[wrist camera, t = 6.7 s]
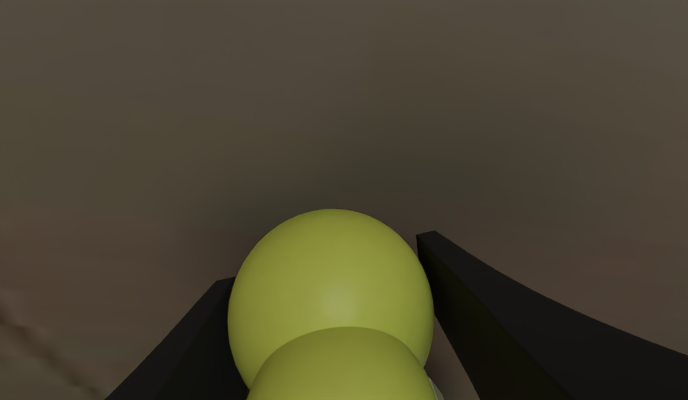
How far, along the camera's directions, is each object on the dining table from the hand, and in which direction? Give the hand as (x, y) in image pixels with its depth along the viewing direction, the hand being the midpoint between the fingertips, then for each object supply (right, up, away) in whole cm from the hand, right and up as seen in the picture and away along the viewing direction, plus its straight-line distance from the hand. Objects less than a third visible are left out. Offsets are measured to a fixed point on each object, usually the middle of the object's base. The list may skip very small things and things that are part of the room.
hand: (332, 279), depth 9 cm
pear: (0, +1, +2) cm, 2 cm away
